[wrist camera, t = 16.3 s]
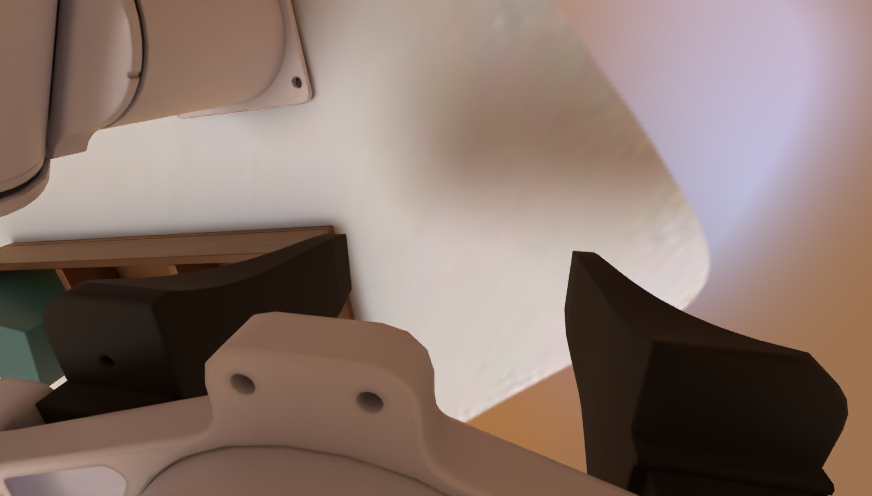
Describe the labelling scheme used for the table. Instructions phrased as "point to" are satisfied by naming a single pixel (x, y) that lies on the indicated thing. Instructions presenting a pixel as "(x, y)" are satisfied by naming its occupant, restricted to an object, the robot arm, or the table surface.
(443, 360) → the table surface
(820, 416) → the robot arm
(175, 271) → the organizer
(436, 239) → the table surface
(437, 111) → the table surface
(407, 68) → the table surface
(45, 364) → the teal box
